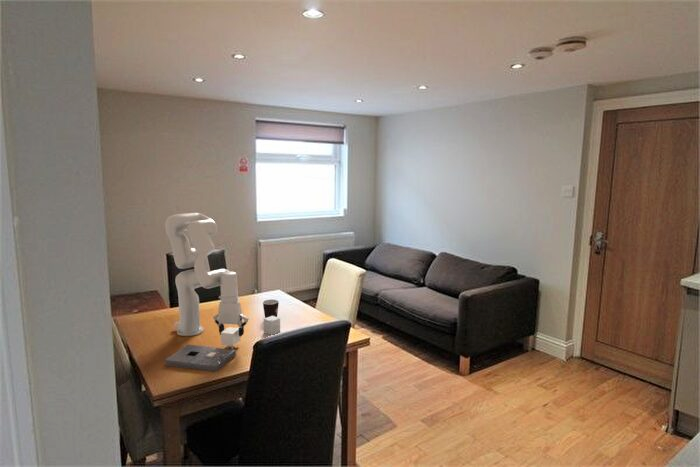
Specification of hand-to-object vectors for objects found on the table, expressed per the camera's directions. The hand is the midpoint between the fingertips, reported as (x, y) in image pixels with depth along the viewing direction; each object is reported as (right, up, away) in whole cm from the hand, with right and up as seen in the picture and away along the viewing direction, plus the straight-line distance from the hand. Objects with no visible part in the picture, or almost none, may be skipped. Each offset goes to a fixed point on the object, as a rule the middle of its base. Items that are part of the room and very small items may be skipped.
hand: (231, 334), depth 194 cm
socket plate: (-10, -8, -12) cm, 17 cm away
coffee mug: (+12, -1, +39) cm, 41 cm away
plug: (-1, -6, +1) cm, 6 cm away
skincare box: (+15, -4, +20) cm, 25 cm away
